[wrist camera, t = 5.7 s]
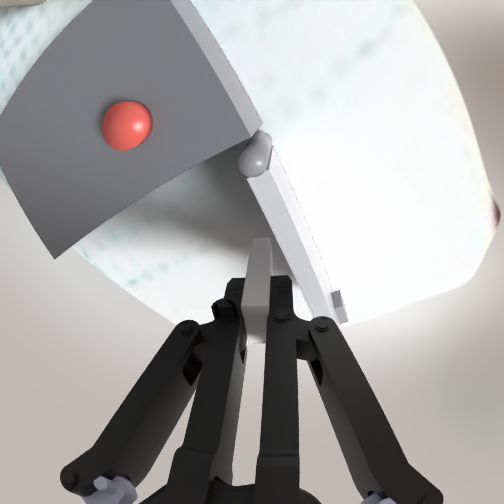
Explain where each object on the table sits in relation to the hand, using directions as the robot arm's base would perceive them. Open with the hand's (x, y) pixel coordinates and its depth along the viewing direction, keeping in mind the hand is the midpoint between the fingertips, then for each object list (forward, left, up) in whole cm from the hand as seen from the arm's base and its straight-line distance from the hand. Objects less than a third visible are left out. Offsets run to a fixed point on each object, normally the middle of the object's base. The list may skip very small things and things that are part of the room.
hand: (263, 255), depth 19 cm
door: (-1, +3, -1) cm, 3 cm away
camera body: (-13, -3, -2) cm, 13 cm away
